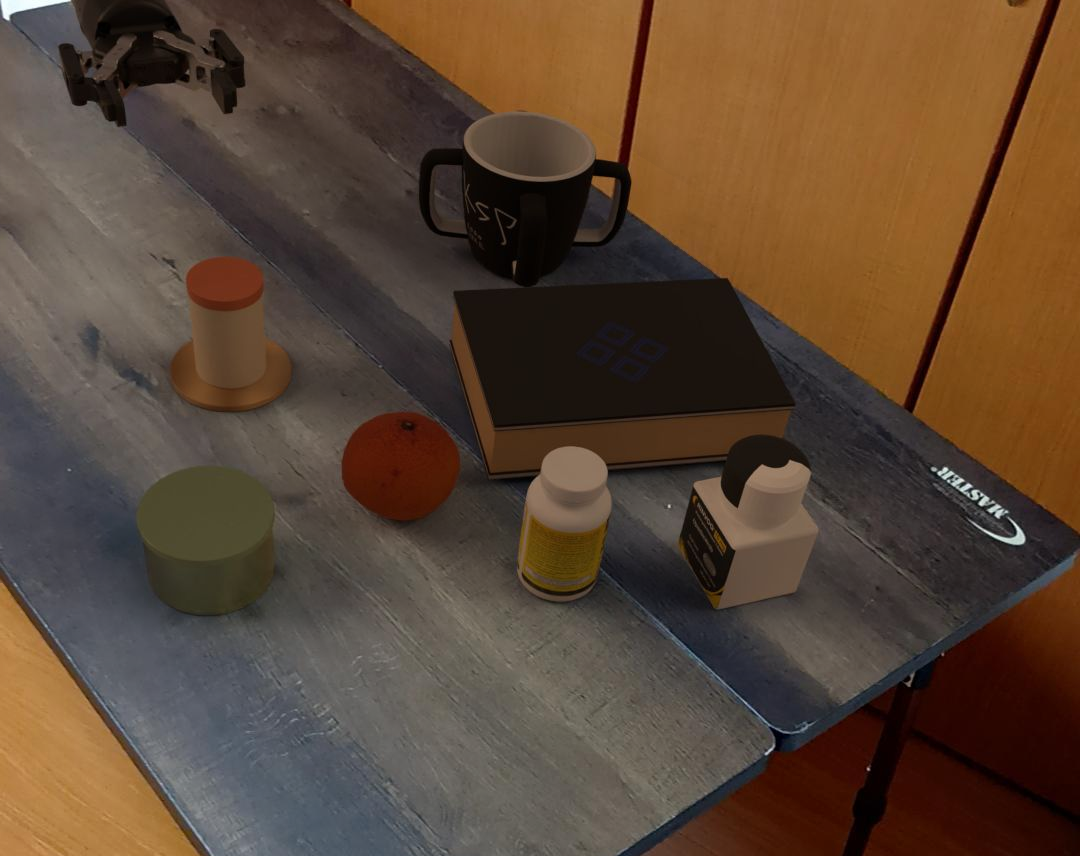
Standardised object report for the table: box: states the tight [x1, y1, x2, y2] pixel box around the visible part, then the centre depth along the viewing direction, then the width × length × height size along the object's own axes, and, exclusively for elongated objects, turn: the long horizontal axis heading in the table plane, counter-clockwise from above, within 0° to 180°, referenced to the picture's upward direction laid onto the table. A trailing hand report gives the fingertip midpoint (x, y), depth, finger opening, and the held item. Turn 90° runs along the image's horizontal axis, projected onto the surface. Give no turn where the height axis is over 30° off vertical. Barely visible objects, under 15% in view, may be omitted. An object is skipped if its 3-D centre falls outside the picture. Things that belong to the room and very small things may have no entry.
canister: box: [185, 256, 266, 389], centre depth 108 cm, size 6×6×9 cm
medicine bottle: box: [677, 435, 819, 611], centre depth 98 cm, size 7×7×12 cm
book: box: [448, 277, 797, 481], centre depth 112 cm, size 17×25×7 cm
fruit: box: [341, 411, 461, 521], centre depth 101 cm, size 9×9×8 cm
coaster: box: [169, 337, 292, 413], centre depth 112 cm, size 10×10×1 cm
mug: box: [418, 110, 633, 288], centre depth 124 cm, size 16×16×12 cm
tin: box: [135, 465, 276, 616], centre depth 94 cm, size 9×9×6 cm
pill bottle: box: [516, 446, 613, 603], centre depth 96 cm, size 6×6×11 cm
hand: (175, 109), depth 105 cm, fingers open, 8 cm apart
